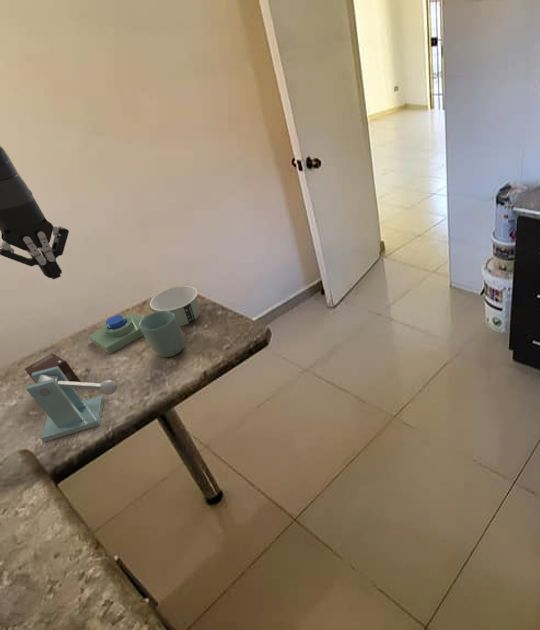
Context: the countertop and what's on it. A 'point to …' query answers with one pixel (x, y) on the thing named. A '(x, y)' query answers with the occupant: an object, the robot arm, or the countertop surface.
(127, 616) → the countertop surface
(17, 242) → the robot arm
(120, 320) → the flush button
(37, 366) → the box
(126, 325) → the button block
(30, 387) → the lever bracket
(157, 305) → the food container
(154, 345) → the cup
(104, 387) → the flush lever
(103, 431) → the countertop surface
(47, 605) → the countertop surface
